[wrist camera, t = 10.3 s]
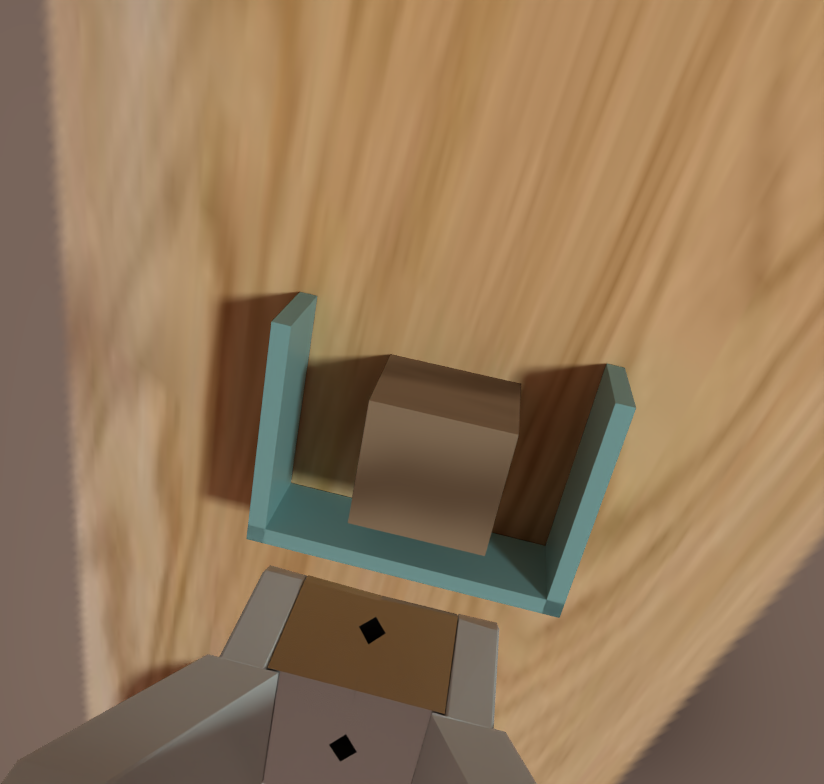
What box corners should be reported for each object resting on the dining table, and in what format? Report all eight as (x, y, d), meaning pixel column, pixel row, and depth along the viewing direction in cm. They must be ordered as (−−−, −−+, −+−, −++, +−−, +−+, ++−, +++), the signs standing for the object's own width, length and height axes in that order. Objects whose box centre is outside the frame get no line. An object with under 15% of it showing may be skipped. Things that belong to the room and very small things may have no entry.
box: (300, 291, 33) (271, 321, 30) (624, 367, 32) (636, 408, 29) (273, 492, 38) (246, 538, 34) (556, 562, 37) (559, 617, 34)
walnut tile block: (391, 353, 34) (369, 400, 29) (521, 382, 34) (519, 434, 29) (370, 464, 37) (347, 522, 32) (490, 492, 36) (484, 556, 32)
